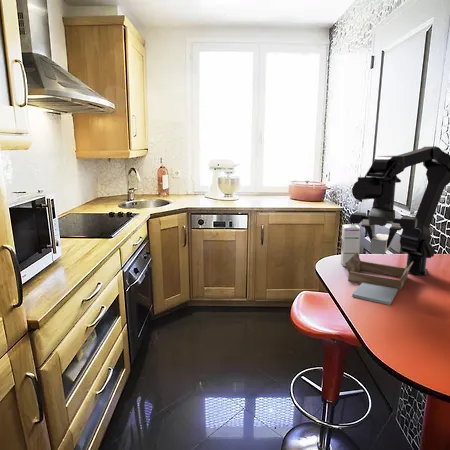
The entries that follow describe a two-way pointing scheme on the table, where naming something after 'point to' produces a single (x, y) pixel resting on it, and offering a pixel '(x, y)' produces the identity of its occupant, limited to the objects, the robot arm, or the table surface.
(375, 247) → the cream box
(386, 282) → the carton
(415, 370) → the table surface
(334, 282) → the table surface
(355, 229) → the syrup box
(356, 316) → the table surface
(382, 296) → the mat
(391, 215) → the robot arm
